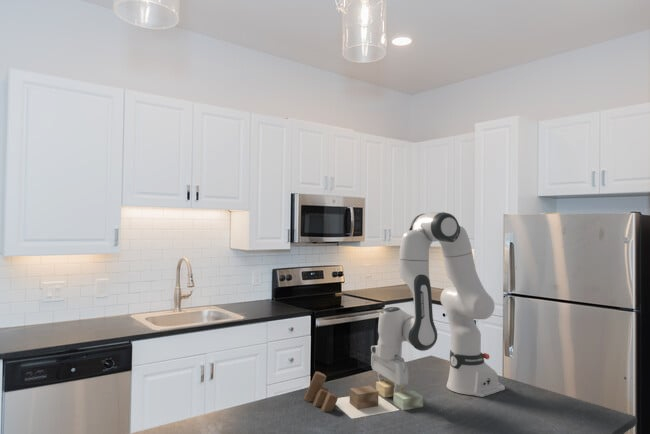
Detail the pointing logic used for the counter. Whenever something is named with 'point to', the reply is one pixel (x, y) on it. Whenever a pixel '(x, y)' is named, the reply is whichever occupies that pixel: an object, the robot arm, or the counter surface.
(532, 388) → the counter surface
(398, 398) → the sage brick
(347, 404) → the baseplate
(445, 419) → the counter surface
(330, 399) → the wooden block set
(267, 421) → the counter surface
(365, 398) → the walnut base brick
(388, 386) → the oak brick
